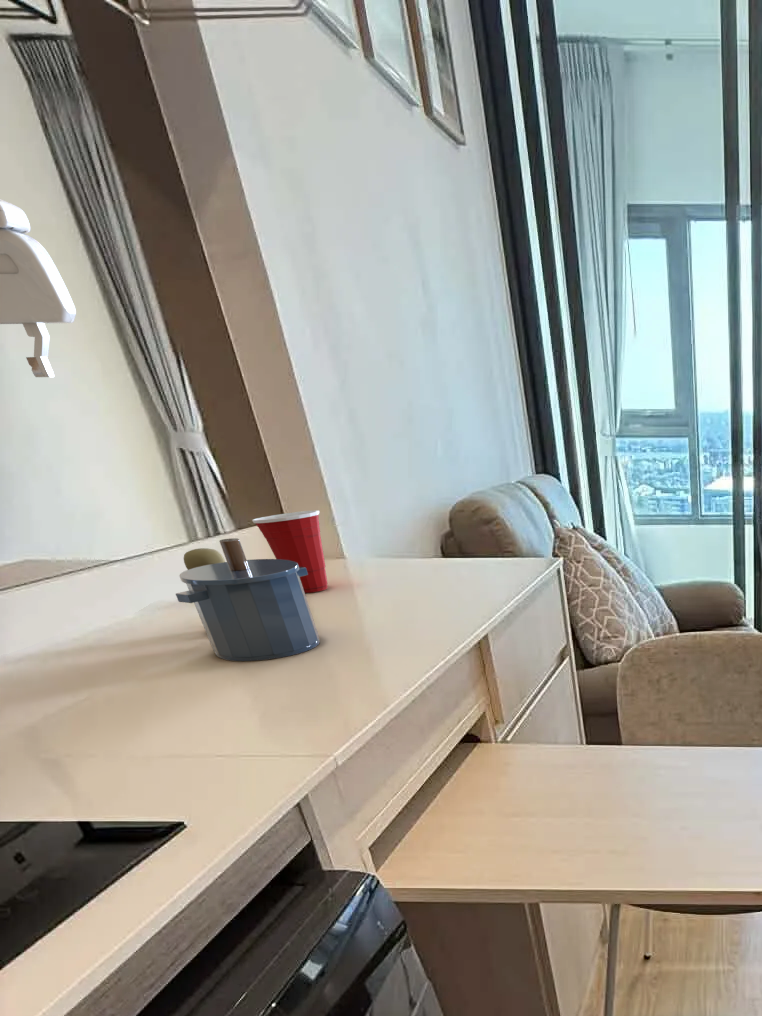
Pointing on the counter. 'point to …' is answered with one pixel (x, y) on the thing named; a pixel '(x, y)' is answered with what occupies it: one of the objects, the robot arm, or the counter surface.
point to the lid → (238, 568)
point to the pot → (255, 618)
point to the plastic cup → (297, 544)
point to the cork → (202, 557)
